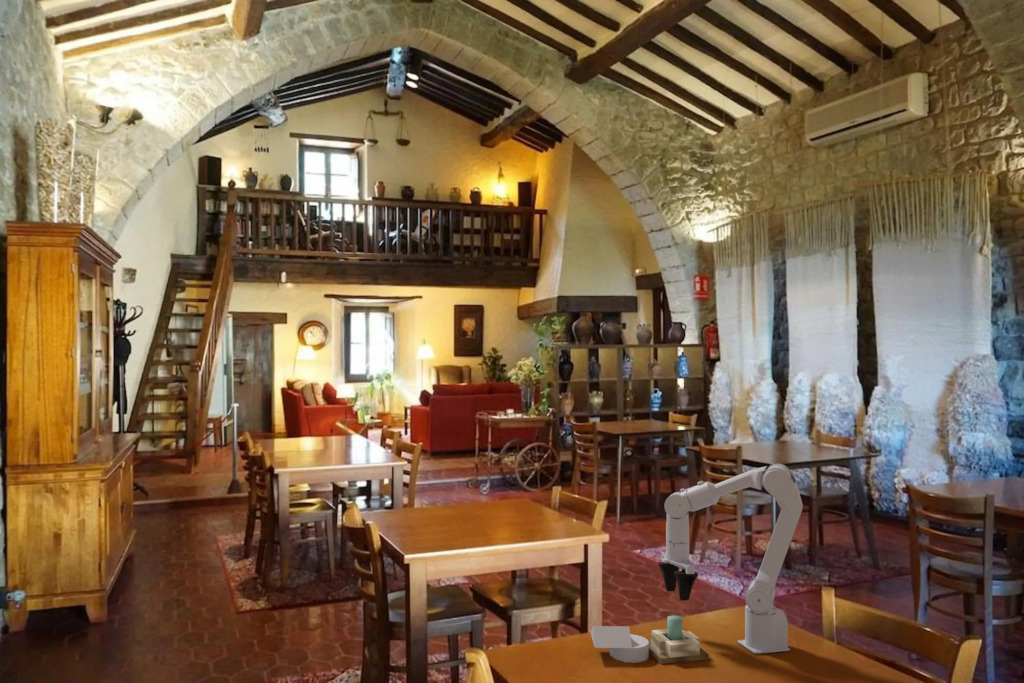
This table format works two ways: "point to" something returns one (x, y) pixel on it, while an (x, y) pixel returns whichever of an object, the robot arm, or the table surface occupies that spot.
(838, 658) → the table surface
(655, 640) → the socket board
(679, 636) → the peg
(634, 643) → the wedge on round base
